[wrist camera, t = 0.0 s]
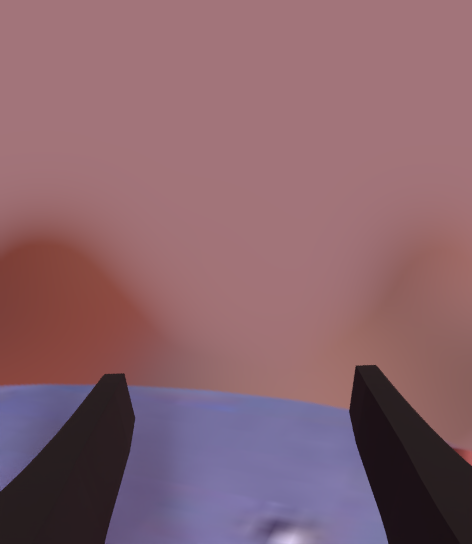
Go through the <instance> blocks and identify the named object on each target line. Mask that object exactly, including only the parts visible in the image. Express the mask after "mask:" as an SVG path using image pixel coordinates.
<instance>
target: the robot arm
mask: <svg viewBox="0 0 472 544" xmlns="http://www.w3.org/2000/svg"><path fill="white" fill-rule="evenodd" d="M349 413H350V418H351V422H352V427H353V432H354V436H355V441H356V445H357V448H358V451H359V454H360V457H361V460H362V463H363V466H364V468H365V471H366V474H367V477H368V480H369V483H370V486H371V489H372V492H373V495H374V498H375V501H376V503H377V506H378V509H379V512H380V515H381V518H382V522H383V525H384V528H385V532H386V535H387V540H388V544H472V466H471V465H470V464H469V463H468V462H466V461H465V460H464V459H463V458H462V457H461V456H460V455H459V454H458V453H457V452H456V451H454V450H453V449H452V448H451V447H450V446H449V445H448V444H447V443H446V442H445V441H444V440H443V439H442V438H441V437H440V436H439V435H438V434H437V433H436V432H435V431H434V430H433V429H432V428H431V427H430V426H429V425H428V424H427V423H426V422H425V421H424V420H423V419H422V417H420V415H419V414H418V413H417V412H416V411H415V410H414V409H413V408H412V407H411V406H410V404H409V403H408V402H407V401H406V400H405V399H404V398H403V397H402V395H401V394H400V393H399V392H398V391H397V389H396V388H395V387H394V386H393V385H392V384H391V382H390V381H389V380H388V379H387V378H386V376H385V375H384V374H383V373H382V371H381V370H380V369H379V368H378V367H377V366H376V365H363V366H356V369H355V375H354V382H353V390H352V397H351V403H350V410H349ZM134 422H135V416H134V412H133V408H132V404H131V399H130V395H129V391H128V387H127V383H126V379H125V374H105V375H104V376H103V377H102V378H101V379H100V381H99V382H98V383H97V384H96V386H95V387H94V388H93V389H92V391H91V392H90V393H89V395H88V396H87V397H86V399H85V400H84V401H83V402H82V404H81V405H80V406H79V407H78V409H77V410H76V411H75V412H74V414H73V415H72V416H71V417H70V419H69V420H68V421H67V422H66V423H65V425H64V426H63V427H62V428H61V429H60V431H59V432H58V433H57V434H56V435H55V436H54V437H53V439H52V440H51V441H50V442H49V443H48V444H47V445H46V446H45V447H44V448H43V450H42V451H41V452H40V453H39V454H38V455H37V456H36V457H35V458H34V459H33V460H32V461H31V462H30V464H29V465H28V466H27V467H26V468H25V469H24V470H23V471H22V472H21V473H20V474H19V475H18V476H17V477H15V478H14V479H13V480H12V481H11V482H10V483H9V484H8V485H7V486H6V487H5V488H4V489H3V490H2V491H1V492H0V544H105V539H106V535H107V531H108V527H109V523H110V519H111V516H112V512H113V509H114V505H115V502H116V498H117V495H118V491H119V488H120V484H121V481H122V477H123V474H124V470H125V467H126V463H127V459H128V456H129V452H130V447H131V441H132V435H133V429H134Z"/></svg>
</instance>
